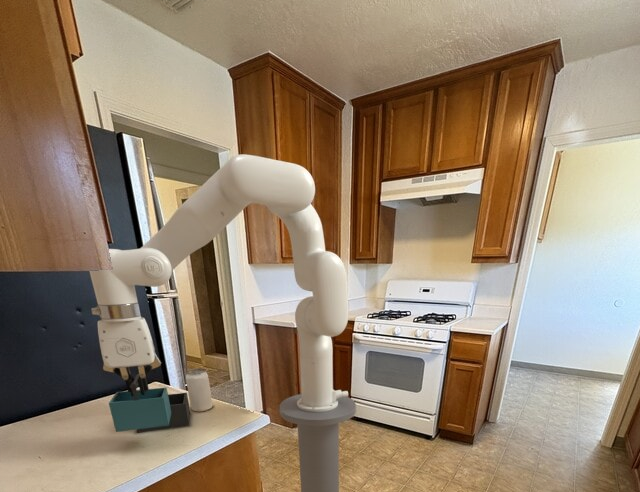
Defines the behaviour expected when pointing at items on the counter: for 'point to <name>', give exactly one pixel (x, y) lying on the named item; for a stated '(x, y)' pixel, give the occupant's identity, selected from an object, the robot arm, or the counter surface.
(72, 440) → the counter surface
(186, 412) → the lower bin
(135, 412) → the top bin
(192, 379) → the can
